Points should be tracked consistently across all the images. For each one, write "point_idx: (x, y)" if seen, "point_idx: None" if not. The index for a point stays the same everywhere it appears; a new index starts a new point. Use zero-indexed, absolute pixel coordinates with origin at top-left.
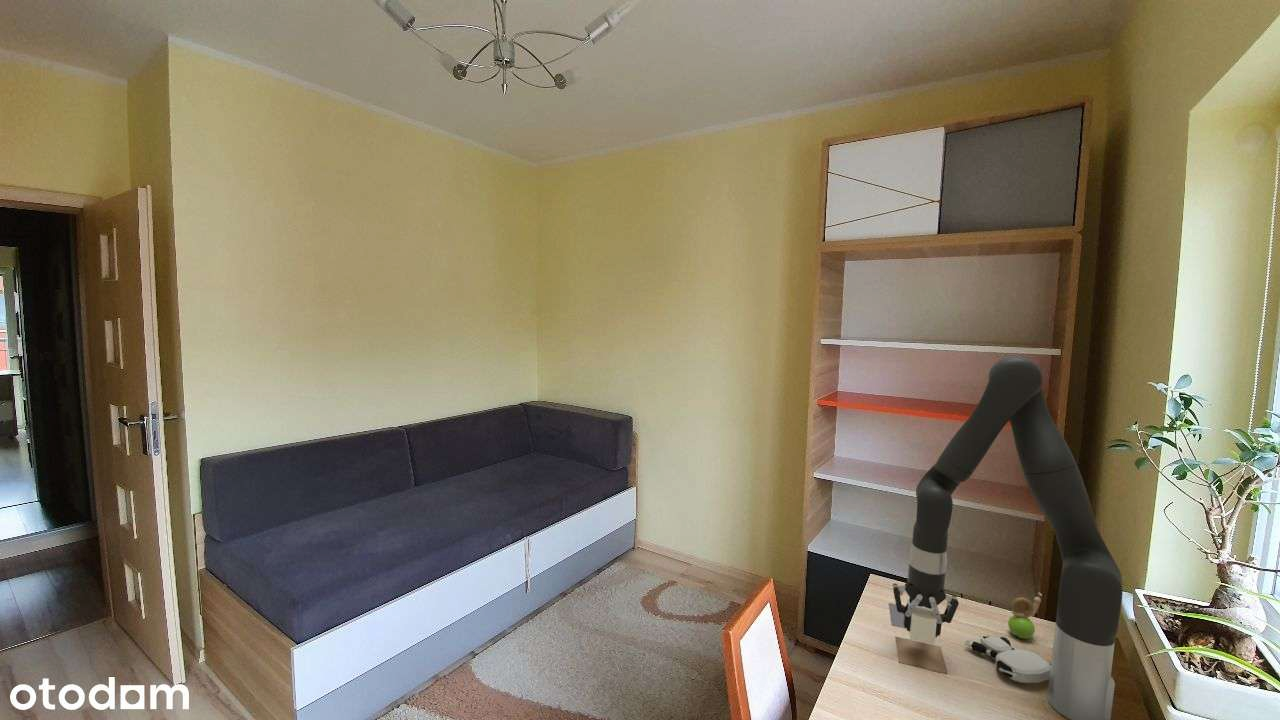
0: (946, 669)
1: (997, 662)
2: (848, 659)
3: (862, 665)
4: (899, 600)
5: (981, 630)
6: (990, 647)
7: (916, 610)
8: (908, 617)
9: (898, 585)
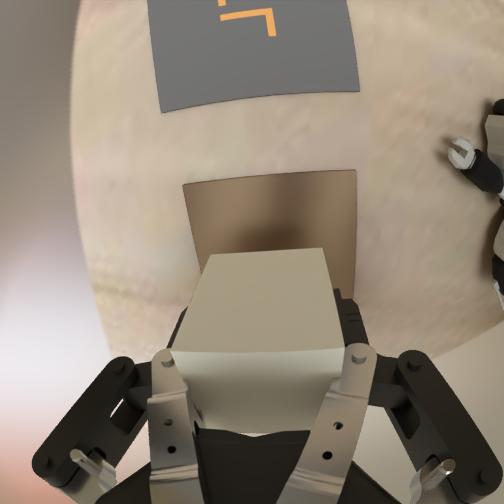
0: (352, 296)
1: (501, 270)
2: (111, 341)
3: (141, 350)
4: (119, 451)
5: (484, 8)
6: None
7: (221, 400)
8: None
9: (65, 493)
